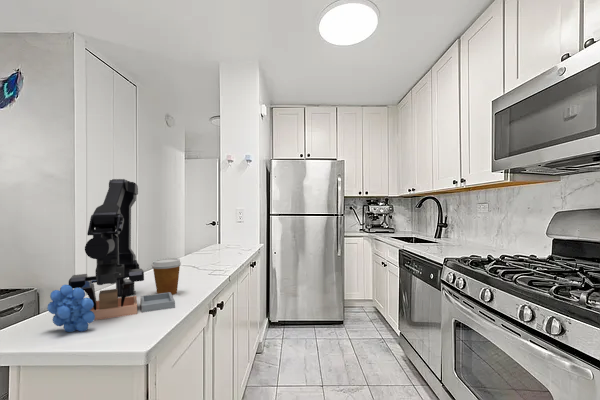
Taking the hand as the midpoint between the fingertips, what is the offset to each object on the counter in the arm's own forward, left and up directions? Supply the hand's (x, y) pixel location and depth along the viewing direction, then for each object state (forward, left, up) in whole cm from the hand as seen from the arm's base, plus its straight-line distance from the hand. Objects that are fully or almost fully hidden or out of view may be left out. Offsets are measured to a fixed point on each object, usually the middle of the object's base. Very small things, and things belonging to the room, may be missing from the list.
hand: (108, 308), depth 102 cm
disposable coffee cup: (-14, +17, -2) cm, 22 cm away
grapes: (+13, -8, -2) cm, 15 cm away
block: (0, 0, -1) cm, 1 cm away
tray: (-1, +13, -2) cm, 13 cm away
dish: (0, 0, -2) cm, 2 cm away
